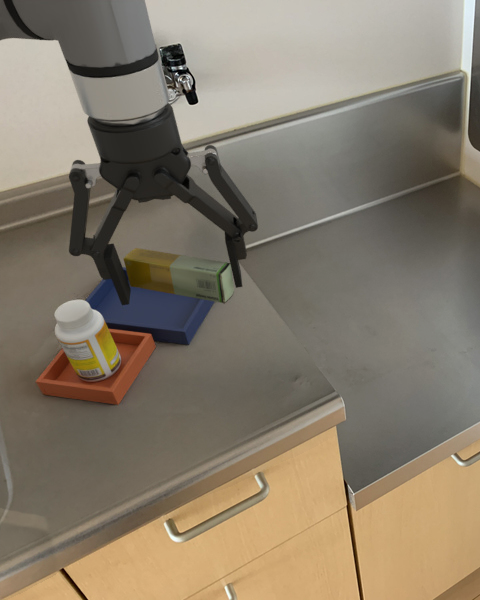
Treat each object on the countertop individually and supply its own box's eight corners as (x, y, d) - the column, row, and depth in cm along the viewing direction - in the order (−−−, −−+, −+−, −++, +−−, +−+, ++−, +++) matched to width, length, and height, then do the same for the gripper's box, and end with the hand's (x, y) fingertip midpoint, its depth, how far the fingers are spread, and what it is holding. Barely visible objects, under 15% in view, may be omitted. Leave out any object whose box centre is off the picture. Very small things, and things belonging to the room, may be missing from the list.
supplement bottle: (112, 346, 82) (86, 288, 76) (129, 368, 79) (104, 310, 73) (70, 367, 80) (39, 309, 73) (87, 391, 77) (56, 333, 70)
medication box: (236, 291, 71) (232, 261, 68) (225, 304, 68) (221, 274, 66) (141, 274, 72) (134, 245, 70) (128, 287, 70) (120, 257, 68)
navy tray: (76, 331, 85) (69, 317, 84) (118, 278, 94) (113, 265, 92) (188, 344, 83) (184, 331, 82) (221, 290, 92) (218, 277, 90)
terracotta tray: (43, 394, 77) (35, 381, 75) (87, 338, 84) (80, 325, 83) (118, 405, 76) (112, 391, 74) (156, 346, 83) (151, 333, 81)
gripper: (258, 80, 61) (284, 254, 75) (-5, 105, 56) (76, 284, 71) (264, 111, 56) (291, 292, 70) (-26, 141, 51) (66, 328, 65)
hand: (183, 288), depth 70 cm, fingers closed on medication box, 12 cm apart
